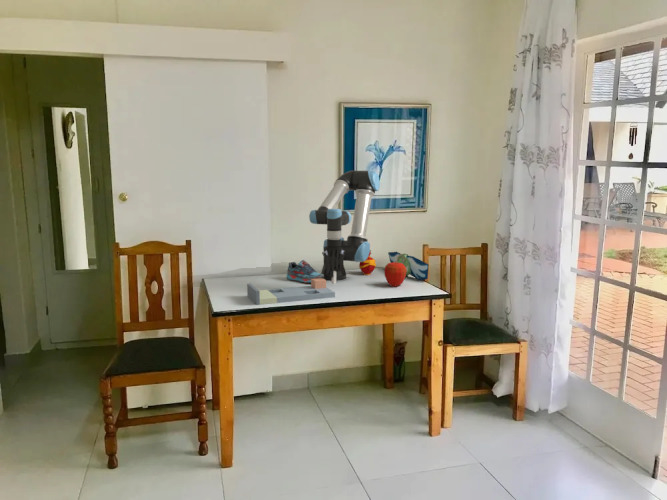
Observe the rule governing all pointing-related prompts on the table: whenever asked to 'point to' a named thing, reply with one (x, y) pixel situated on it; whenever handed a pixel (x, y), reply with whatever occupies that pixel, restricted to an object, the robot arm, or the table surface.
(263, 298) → the grey flat slotted slab
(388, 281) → the apple
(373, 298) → the table surface
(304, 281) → the running shoe
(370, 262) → the potion bottle
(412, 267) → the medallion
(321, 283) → the block
